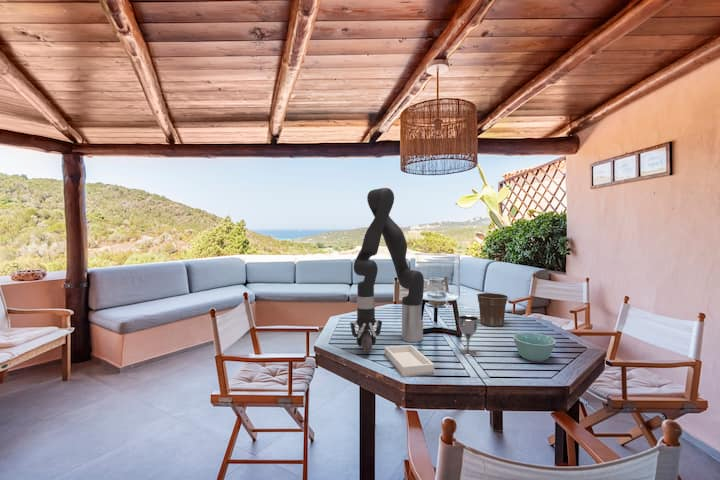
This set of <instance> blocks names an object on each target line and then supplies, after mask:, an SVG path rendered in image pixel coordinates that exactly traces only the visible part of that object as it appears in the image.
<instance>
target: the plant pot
mask: <svg viewBox="0 0 720 480" xmlns="http://www.w3.org/2000/svg"><path fill="white" fill-rule="evenodd" d="M508 296H509V295H506V294H501V293H492V292H491V293H490V292H480V293H477V294H476V297H477V303H478V308H479V319H480V320H479V321H480V324H481V325H484V326H487V327H492V328H496V327H498V328H499V327H503V326H504V324H505V316H506V314H505V313H506V305H507V303H508V298H509V297H508Z"/></svg>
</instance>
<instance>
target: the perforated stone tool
mask: <svg viewBox="0 0 720 480" xmlns="http://www.w3.org/2000/svg"><path fill="white" fill-rule="evenodd" d="M371 336H372V333H371V331H370V330H364V331H363V333H362V334H361V337H360V338H361V348H362V350H363V351H364V352H365V353H369V352H370V351H371V350H372V348H373V345H372V337H371Z"/></svg>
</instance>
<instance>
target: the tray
mask: <svg viewBox="0 0 720 480" xmlns="http://www.w3.org/2000/svg"><path fill="white" fill-rule="evenodd" d="M384 357H386V359H387V360H388V361H389V363H391V364H392V367H394V368H395V370H396V371H398V372H399V374H400V375H401V376H402V378H406V377H407V378H408V377H415V376H417V377H418V376H427V375H435V363H434V362H432V361H431V360H430V359H428V358H427V356H425V355H424V354H423V353H421V351H419V350H418V349H417V348H416V347H414V346H413V345H412V344H405V345H395V346H384Z"/></svg>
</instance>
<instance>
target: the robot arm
mask: <svg viewBox="0 0 720 480" xmlns="http://www.w3.org/2000/svg"><path fill="white" fill-rule="evenodd" d="M366 200H367V204H368V207H369V209H370V211H371V213H372V215H373V216H374V217H373V220H372V222H371V224H369V226H368V228H367V229H366V232H365V234H364V237H363V241H362V246H361V249H360V251H359V252H358V254H357V257H356V258H355V260H354V262H353V272H354V274H356V275H358V276H362V277H364V278H363V281H359V282H358V283H357V299H356V317H357V318H356V321H354V322H353V321H350V323H349V325H350V330H351V334H352V337H354V338H356V343H357V344H356V345H358V347H361V348H362V346H361V338H360V337H361V334H362V333H363V331H364V330H369V331H370V334H371V337H372V346H375V344H376V343H377V341H376V339H377V336H379V335H380V334H381V330H382V325H383V321H382V320H380V319H376V317H375V316H376V310H375V309H376V308H375V307H376V303H375V284H376V279H377V276H378V275H377V274H378V265H377V262H375V260H372V259H370V258H371V257H373V256H376V255H377V254H378V252H379V247H380V242H381V239H382V238H381V237H383V240H384V243H385V245H386V248H387V251H388V252H389V255H390V258H391V260H392V263H393V266H394V270H395V274H396V276H397V279H398V280H397V281H398V283H399V285H400V286H401V288H403V289H406V290H408V294H407V295H406V296H403V297H402V299H401V340H402V341H404V342H407V343H418V342H421V341H424V320H423V319H422V300H423V298H424V290H425V289H424V286H425V279H424V274H423V273H422V272H421V271H420V270H419V271H418V270H413V269H412V270H411V269H410V267H409V265H408V262H407V258H406V257H407V251H408V243H407V240H406V237H405V234H404V232H403V230H402V229H401V227H400V226H399V225H398V224H397V223H396V222H395V221H394V220H393V219H392V218H391V216H390V213H391V210H392V208H393V205H394V204H395V203H394V202H395V193H394V192H393V190H391V188H389V187H382V188H376V189H372V190H370V191H369V192H368V193H367V197H366ZM375 325H376V329H374V326H375ZM356 326H358V328H357V332H356Z"/></svg>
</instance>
